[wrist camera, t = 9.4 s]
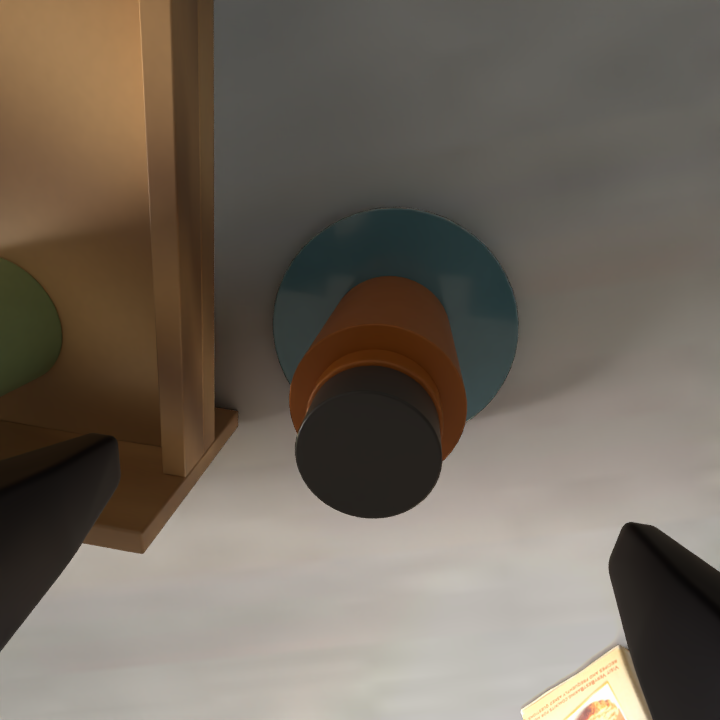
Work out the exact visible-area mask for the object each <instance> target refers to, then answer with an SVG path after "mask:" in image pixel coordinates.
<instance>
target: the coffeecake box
mask: <svg viewBox="0 0 720 720" xmlns="http://www.w3.org/2000/svg"><path fill="white" fill-rule="evenodd" d="M521 715H522V717H523V719H524V720H653V719H652V716H651V713H650V711H649V708H648V705H647V703H646V700H645V697H644V694H643V692H642V689H641V686H640V683H639V680H638V678H637V675H636V672H635V669H634V666H633V662H632V659H631V655H630V652H629V650H627V649H626V648H624V647H623V646H621V645H617V646H616V647H614V648H613V649H611V650H610V651H608V652H607V653H606V654H604V655H603V656H601V657H600V658H598V659H597V660H596V661H594V662H593V663H592V664H590V665H589V666H588V667H586V668H585V669H584V670H582V671H580V672H579V673H577V674H576V675H574V676H573V677H571V678H569V679H568V680H566V681H564V682H562V683H561V684H559V685H558V686H556V687H554V688H552V689H551V690H549V691H547V692H546V693H544V694H543V695H542V696H540V697H539V698H538V699H536V700H535V701H533V702H532V703H530V704H529V705H528V706H526V707H525V708H523V709H522V710H521Z"/></svg>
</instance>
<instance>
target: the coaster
mask: <svg viewBox="0 0 720 720" xmlns="http://www.w3.org/2000/svg"><path fill="white" fill-rule="evenodd" d="M382 276H397V277H403V278H407V279H410V280H413V281H415V282H417V283H419V284H421V285H423V286H424V287H426V288H427V289H428V290H430V291H431V292H432V293H433V294H434V295H435V296H436V297H437V298H438V300H439V301H440V302H441V304H442V306H443V307H444V309H445V311H446V314H447V316H448V320H449V323H450V327H451V332H452V336H453V340H454V344H455V349H456V353H457V357H458V361H459V366H460V370H461V374H462V378H463V383H464V387H465V391H466V398H467V416H466V422H467V421H469V420H470V419H472V418H473V417H474V416H476V415H477V414H478V413H479V412H480V411H481V410H482V409H483V408H485V407H486V405H487V404H488V403H489V402H490V401H491V400H492V399H493V397H494V396H495V395H496V394H497V392H498V391H499V389H500V388H501V386H502V385H503V383H504V381H505V379H506V377H507V375H508V373H509V371H510V369H511V366H512V363H513V360H514V357H515V353H516V348H517V342H518V328H519V321H518V311H517V305H516V301H515V297H514V293H513V290H512V287H511V285H510V282H509V280H508V278H507V275H506V274H505V272H504V270H503V269H502V267H501V265H500V263H499V262H498V260H497V259H496V258H495V257H494V255H493V254H492V253H491V252H490V250H489V249H488V248H487V247H486V246H485V245H484V244H483V243H482V242H481V241H480V240H479V239H477V238H476V237H475V236H474V235H473V234H472V233H470V232H469V231H468V230H466V229H465V228H463V227H462V226H460V225H459V224H457V223H455V222H453V221H451V220H449V219H447V218H445V217H443V216H440V215H437V214H434V213H432V212H429V211H424V210H419V209H414V208H404V207H387V208H376V209H372V210H367V211H363V212H359V213H356V214H354V215H351V216H348V217H346V218H343V219H341V220H340V221H338V222H336V223H334V224H332V225H330V226H328V227H327V228H325V229H324V230H323V231H321V232H320V233H319V234H317V235H316V236H314V237H313V238H312V239H311V240H310V241H309V242H308V243H307V244H306V245H305V246H304V247H303V248H302V249H301V250H300V252H299V253H298V254H297V256H296V257H295V258H294V259H293V261H292V262H291V264H290V266H289V267H288V269H287V271H286V273H285V274H284V277H283V279H282V282H281V284H280V287H279V289H278V293H277V297H276V301H275V305H274V314H273V336H274V342H275V349H276V352H277V356H278V359H279V363H280V365H281V367H282V370H283V372H284V374H285V377H286V378H287V380H288V382H289V383H290V385H291V382H292V379H293V375H294V373H295V371H296V369H297V366H298V364H299V363H300V361H301V360H302V358H303V357H304V355H305V354H306V352H307V351H308V349H309V348H310V346H311V345H312V343H313V342H314V340H315V339H316V337H317V335H318V334H319V332H320V331H321V329H322V328H323V326H324V325H325V323H326V322H327V320H328V319H329V317H330V316H331V314H332V313H333V311H334V310H335V308H336V307H337V305H338V304H339V302H340V301H341V299H342V298H343V297H344V296H345V295H346V294H347V293H348V292H349V291H350V290H351V289H352V288H354V287H355V286H357V285H358V284H360V283H362V282H364V281H366V280H369V279H372V278H376V277H382ZM466 422H465V423H466Z"/></svg>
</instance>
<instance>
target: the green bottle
mask: <svg viewBox="0 0 720 720" xmlns="http://www.w3.org/2000/svg"><path fill="white" fill-rule="evenodd" d="M61 346H62V328H61V323H60V319H59V316H58V313H57V311H56V308H55V306H54V304H53V302H52V300H51V299H50V297H49V295H48V294H47V293H46V291H45V290H44V288H43V287H42V286H41V285H40V284H39V283H38V282H37V281H36V280H35V279H34V278H33V277H32V276H31V275H30V274H29V273H27V272H26V271H25V270H23V269H22V268H21V267H19V266H17V265H16V264H14V263H12V262H10V261H8V260H6V259H3V258H0V397H1V396H3V395H5V394H7V393H9V392H11V391H13V390H15V389H17V388H19V387H21V386H23V385H25V384H27V383H29V382H31V381H33V380H35V379H37V378H38V377H40V376H42V375H44V374H45V373H46V372H48V371H49V370H50V369H51V368H52V367H53V365H54V364H55V362H56V360H57V359H58V356H59V354H60V351H61Z"/></svg>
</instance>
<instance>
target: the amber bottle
mask: <svg viewBox="0 0 720 720" xmlns="http://www.w3.org/2000/svg"><path fill="white" fill-rule="evenodd" d="M289 406H290V413H291V418H292V421H293V425H294V427H295V430H296V432H297V437H296V443H295V456H296V462H297V466H298V469H299V472H300V474H301V476H302V479H303V480H304V482H305V483H306V485H307V486H308V488H309V489H310V490H311V491H312V493H314V494H315V495H316V496H317V497H318V498H319V499H320V500H321V501H323V502H324V503H325V504H327V505H328V506H330V507H332V508H333V509H335V510H338V511H340V512H342V513H345V514H348V515H351V516H356V517H361V518H386V517H391V516H395V515H398V514H401V513H404V512H406V511H408V510H410V509H412V508H413V507H415V506H416V505H418V504H419V503H420V502H422V501H423V500H424V499H425V498H426V497H427V496H428V495H429V493H430V492H431V491H432V489H433V488H434V486H435V485H436V483H437V480H438V478H439V475H440V472H441V467H442V461H443V460H445V459H446V457H447V456H448V455H449V454H450V453H451V452H452V450H453V449H454V447H455V446H456V444H457V443H458V441H459V439H460V437H461V435H462V432H463V429H464V426H465V422H466V416H467V398H466V391H465V387H464V383H463V378H462V374H461V370H460V366H459V361H458V357H457V353H456V349H455V344H454V340H453V336H452V332H451V327H450V323H449V320H448V316H447V314H446V311H445V309H444V307H443V306H442V304H441V302H440V301H439V300H438V298H437V297H436V296H435V295H434V294H433V293H432V292H431V291H430V290H428V289H427V288H426V287H424V286H423V285H421V284H419V283H417V282H415V281H413V280H410V279H407V278H403V277H397V276H382V277H376V278H372V279H369V280H366V281H364V282H362V283H360V284H358V285H357V286H355V287H354V288H352V289H351V290H350V291H349V292H348V293H347V294H346V295H345V296H344V297H343V298H342V299H341V301H340V302H339V304H338V305H337V307H336V308H335V310H334V311H333V313H332V314H331V316H330V317H329V319H328V320H327V322H326V323H325V325H324V326H323V328H322V329H321V331H320V332H319V334H318V335H317V337H316V339H315V340H314V342H313V343H312V345H311V346H310V348H309V349H308V351H307V352H306V354H305V355H304V357H303V358H302V360H301V361H300V363H299V364H298V366H297V369H296V371H295V373H294V375H293V379H292V382H291V386H290V394H289Z"/></svg>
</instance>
